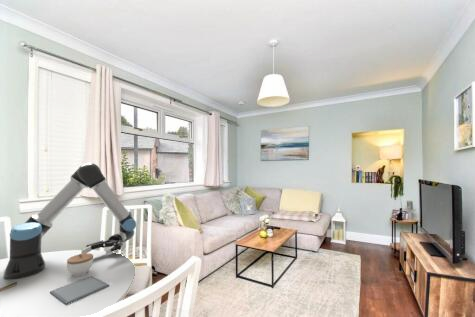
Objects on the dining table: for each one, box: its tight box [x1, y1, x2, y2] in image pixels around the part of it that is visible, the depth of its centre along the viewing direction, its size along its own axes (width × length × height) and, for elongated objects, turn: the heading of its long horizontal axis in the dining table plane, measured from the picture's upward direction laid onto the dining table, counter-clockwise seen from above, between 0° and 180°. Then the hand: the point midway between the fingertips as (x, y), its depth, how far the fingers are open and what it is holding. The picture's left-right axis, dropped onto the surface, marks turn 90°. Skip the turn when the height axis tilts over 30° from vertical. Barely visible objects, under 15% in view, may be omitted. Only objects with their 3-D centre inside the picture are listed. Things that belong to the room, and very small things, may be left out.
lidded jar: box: [66, 252, 94, 277], centre depth 112 cm, size 11×11×9 cm
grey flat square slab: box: [49, 275, 110, 306], centre depth 96 cm, size 16×16×1 cm
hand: (94, 252), depth 122 cm, fingers open, 13 cm apart
